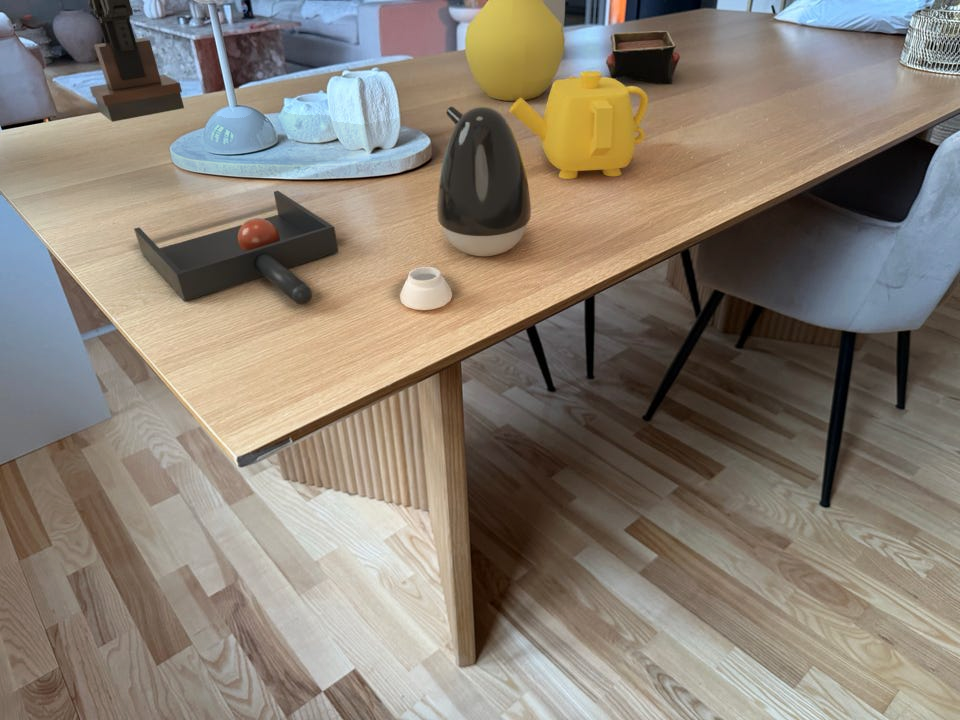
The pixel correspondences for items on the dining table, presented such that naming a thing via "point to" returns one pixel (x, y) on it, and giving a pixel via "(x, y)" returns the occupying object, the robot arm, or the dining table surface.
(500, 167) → the black soy sauce dispenser
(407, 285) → the white jar
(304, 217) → the dustpan
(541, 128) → the teapot
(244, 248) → the bead
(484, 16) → the vase
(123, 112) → the stepped wooden pedestal
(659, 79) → the black rectangular planter
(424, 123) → the dining table surface
